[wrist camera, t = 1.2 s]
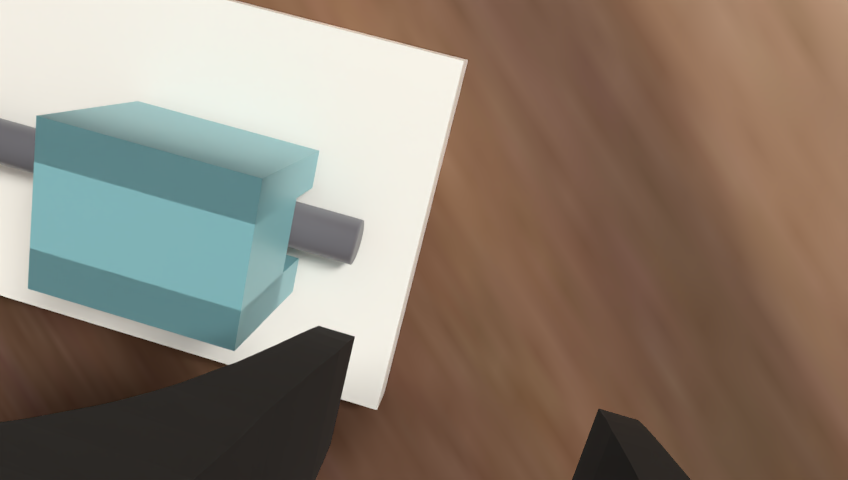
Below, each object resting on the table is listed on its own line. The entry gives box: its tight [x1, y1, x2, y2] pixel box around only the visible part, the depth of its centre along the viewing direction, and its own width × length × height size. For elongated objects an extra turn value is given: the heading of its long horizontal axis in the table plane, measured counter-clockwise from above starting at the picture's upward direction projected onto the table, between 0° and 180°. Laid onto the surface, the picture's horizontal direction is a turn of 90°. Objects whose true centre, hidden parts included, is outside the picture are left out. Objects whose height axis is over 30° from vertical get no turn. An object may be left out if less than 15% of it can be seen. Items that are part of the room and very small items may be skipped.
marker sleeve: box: [28, 101, 319, 351], centre depth 16 cm, size 4×5×4 cm
